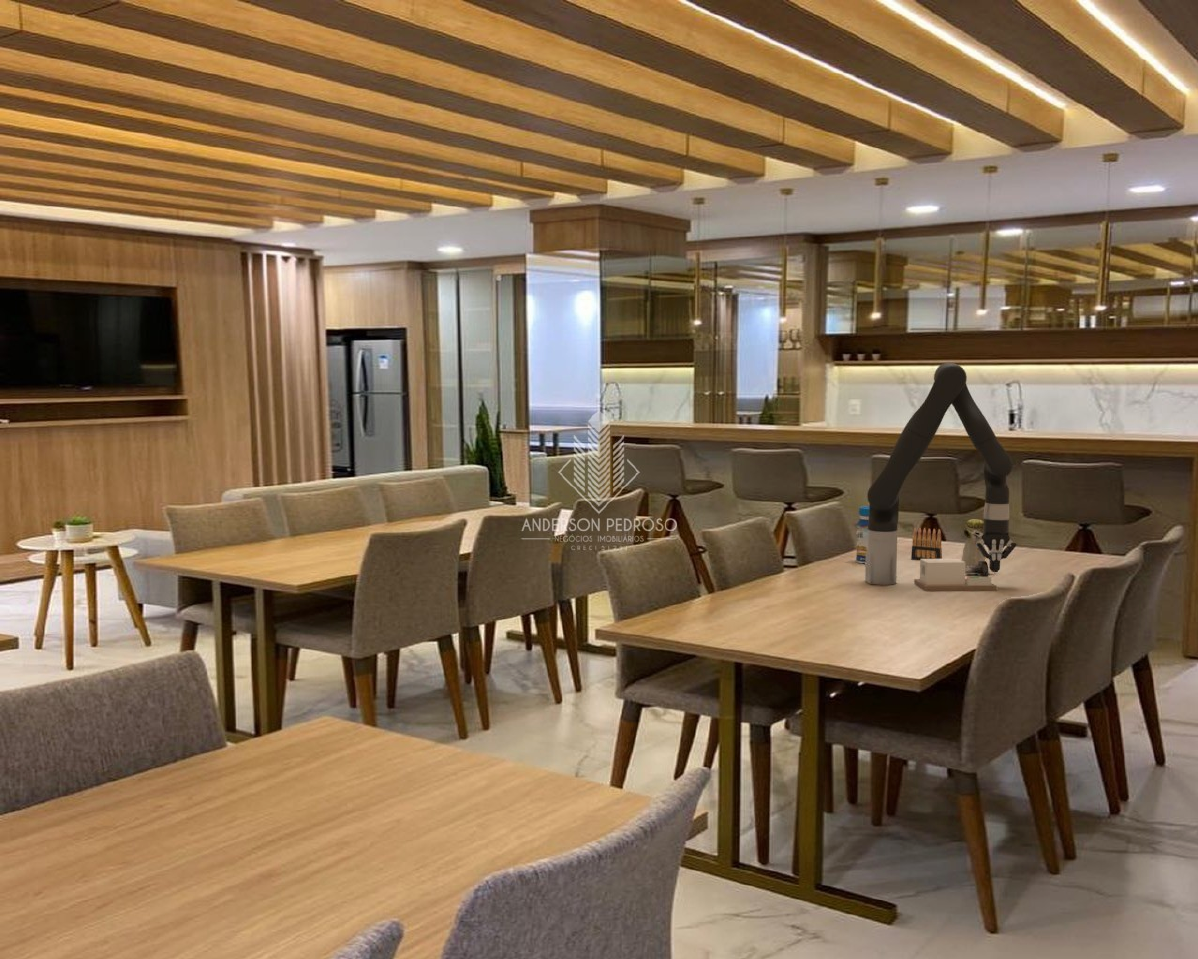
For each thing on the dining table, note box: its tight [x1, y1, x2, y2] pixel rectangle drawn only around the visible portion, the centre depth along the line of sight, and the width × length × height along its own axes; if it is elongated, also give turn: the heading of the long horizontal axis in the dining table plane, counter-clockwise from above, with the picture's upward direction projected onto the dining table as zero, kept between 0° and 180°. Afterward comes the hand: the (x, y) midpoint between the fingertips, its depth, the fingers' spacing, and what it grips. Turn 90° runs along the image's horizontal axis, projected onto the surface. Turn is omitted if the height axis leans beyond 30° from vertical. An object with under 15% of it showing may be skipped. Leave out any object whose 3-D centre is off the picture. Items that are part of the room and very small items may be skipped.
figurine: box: [961, 518, 996, 576], centre depth 355 cm, size 12×13×18 cm
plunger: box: [965, 560, 991, 577], centre depth 330 cm, size 14×8×6 cm, turn 90°
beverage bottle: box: [855, 505, 870, 564], centre depth 377 cm, size 8×8×20 cm
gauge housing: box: [913, 558, 998, 592], centre depth 332 cm, size 22×12×8 cm, turn 90°
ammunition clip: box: [910, 526, 943, 561], centre depth 380 cm, size 11×2×12 cm, turn 54°
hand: (994, 571), depth 332 cm, fingers closed
